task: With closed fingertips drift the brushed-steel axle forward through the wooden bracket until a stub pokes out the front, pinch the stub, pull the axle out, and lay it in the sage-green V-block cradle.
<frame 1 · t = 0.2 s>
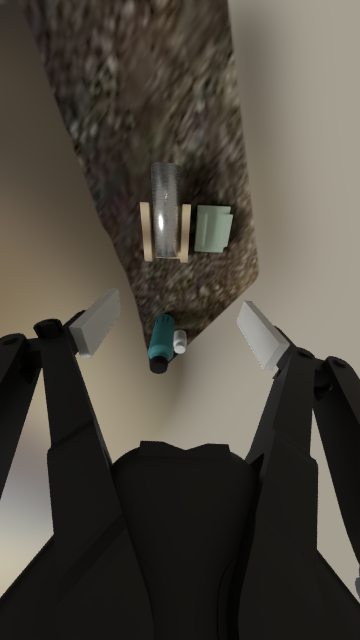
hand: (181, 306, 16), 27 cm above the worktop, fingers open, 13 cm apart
axle: (166, 217, 29), point 6 cm above the worktop, touching wooden bracket
pill bottle: (180, 333, 53), on the worktop
v block: (209, 235, 36), on the worktop
wooden bracket: (168, 233, 36), on the worktop
beverage bottle: (165, 319, 50), on the worktop
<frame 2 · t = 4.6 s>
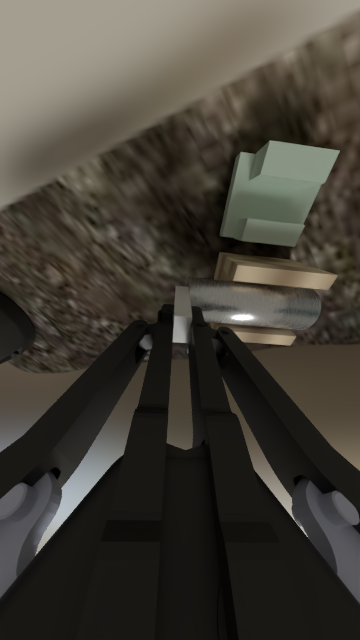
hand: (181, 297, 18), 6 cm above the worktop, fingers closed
axle: (245, 304, 18), point 6 cm above the worktop, touching gripper
v block: (272, 206, 17), on the worktop
wooden bracket: (244, 287, 23), on the worktop
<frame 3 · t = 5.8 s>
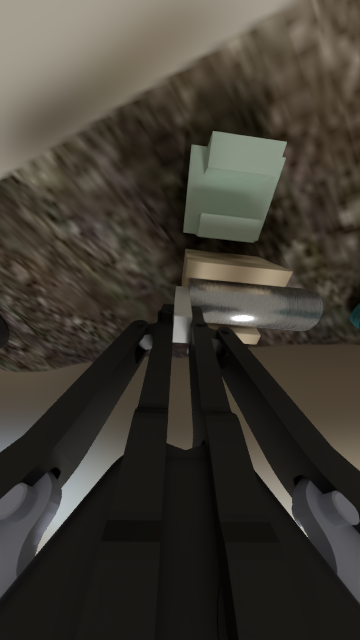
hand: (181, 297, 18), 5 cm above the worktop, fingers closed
axle: (245, 305, 18), point 6 cm above the worktop, touching wooden bracket, gripper
v block: (234, 202, 17), on the worktop
wooden bracket: (214, 285, 22), on the worktop
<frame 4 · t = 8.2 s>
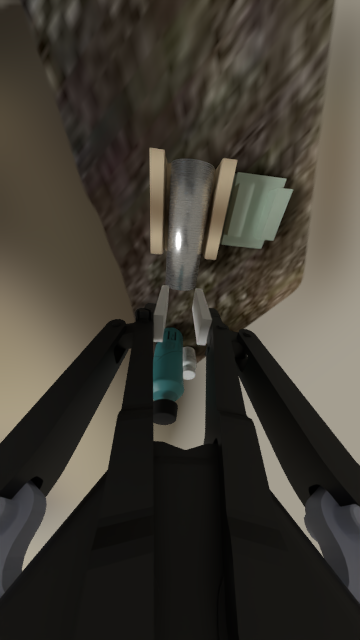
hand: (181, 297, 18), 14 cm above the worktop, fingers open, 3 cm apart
axle: (185, 236, 21), point 6 cm above the worktop, touching wooden bracket
pill bottle: (187, 351, 42), on the worktop
v block: (245, 222, 25), on the worktop
wooden bracket: (186, 215, 24), on the worktop
beverage bottle: (170, 333, 38), on the worktop
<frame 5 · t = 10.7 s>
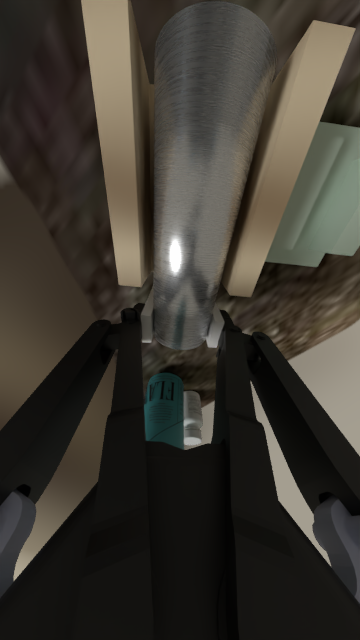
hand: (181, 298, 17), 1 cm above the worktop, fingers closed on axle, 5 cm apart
axle: (190, 250, 10), point 6 cm above the worktop, touching wooden bracket, gripper
pill bottle: (189, 395, 31), on the worktop
v block: (292, 222, 14), on the worktop
wooden bracket: (190, 210, 14), on the worktop
beverage bottle: (166, 375, 28), on the worktop
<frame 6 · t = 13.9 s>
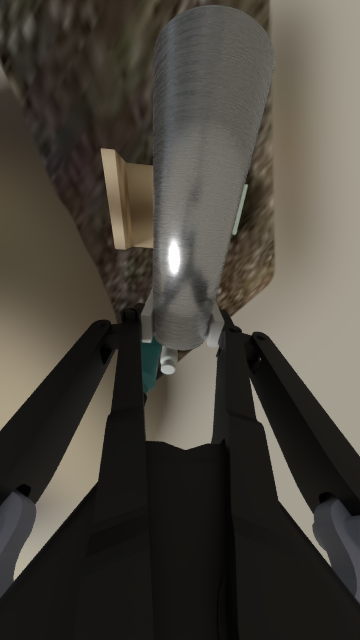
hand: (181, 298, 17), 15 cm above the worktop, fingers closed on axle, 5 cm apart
axle: (189, 251, 10), point 20 cm above the worktop, touching gripper
pill bottle: (170, 347, 42), on the worktop
wooden bracket: (154, 213, 25), on the worktop
beverage bottle: (152, 329, 39), on the worktop
when the fingers open (2 cm above the worktop, at t = 17.1 s): axle drops 1 cm, resting on v block.
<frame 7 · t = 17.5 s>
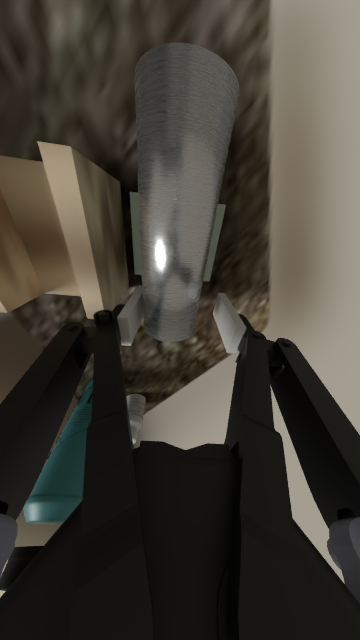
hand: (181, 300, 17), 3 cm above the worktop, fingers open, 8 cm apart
axle: (175, 249, 11), point 6 cm above the worktop, touching v block
pill bottle: (136, 397, 33), on the worktop
v block: (174, 249, 17), on the worktop
wooden bracket: (81, 238, 16), on the worktop
beverage bottle: (109, 380, 29), on the worktop
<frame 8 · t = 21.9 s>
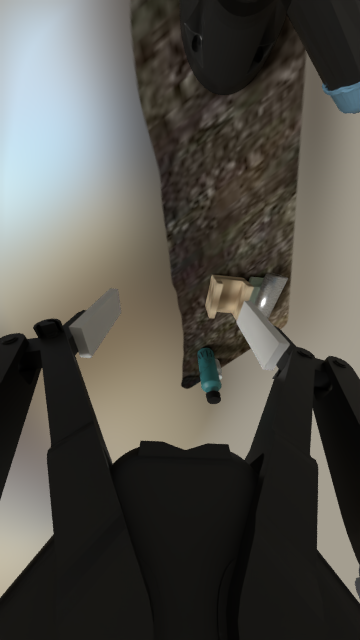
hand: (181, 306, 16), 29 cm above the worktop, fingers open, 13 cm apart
axle: (265, 301, 41), point 6 cm above the worktop, touching v block
pill bottle: (213, 361, 63), on the worktop
v block: (254, 295, 46), on the worktop
wooden bracket: (223, 292, 45), on the worktop
beverage bottle: (204, 350, 59), on the worktop
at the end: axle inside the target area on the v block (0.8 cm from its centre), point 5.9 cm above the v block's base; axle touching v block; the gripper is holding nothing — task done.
